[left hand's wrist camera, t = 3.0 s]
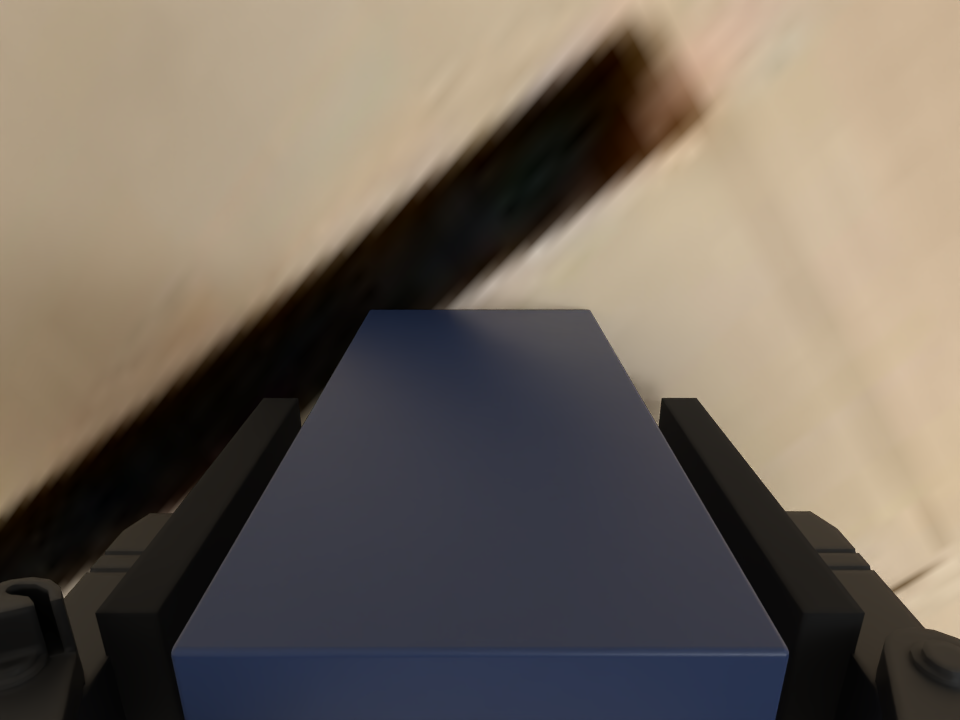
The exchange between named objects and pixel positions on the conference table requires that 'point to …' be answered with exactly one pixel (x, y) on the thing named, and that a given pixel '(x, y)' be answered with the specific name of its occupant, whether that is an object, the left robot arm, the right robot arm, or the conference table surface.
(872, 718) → the left robot arm
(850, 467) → the conference table surface
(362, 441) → the blue block
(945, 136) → the conference table surface
